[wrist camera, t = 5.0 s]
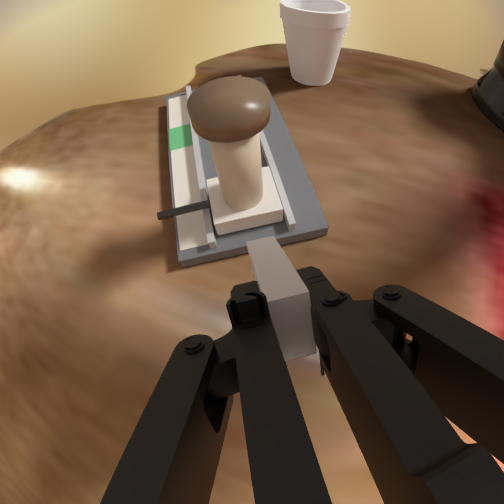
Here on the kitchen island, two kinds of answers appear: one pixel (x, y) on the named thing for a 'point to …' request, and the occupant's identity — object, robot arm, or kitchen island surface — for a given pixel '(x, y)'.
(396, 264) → the kitchen island surface
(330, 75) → the foam cup
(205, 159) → the board
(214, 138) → the tuning slider
